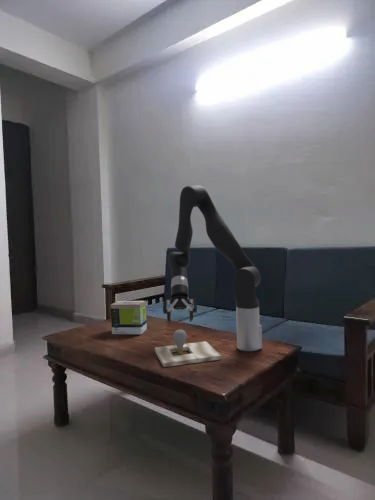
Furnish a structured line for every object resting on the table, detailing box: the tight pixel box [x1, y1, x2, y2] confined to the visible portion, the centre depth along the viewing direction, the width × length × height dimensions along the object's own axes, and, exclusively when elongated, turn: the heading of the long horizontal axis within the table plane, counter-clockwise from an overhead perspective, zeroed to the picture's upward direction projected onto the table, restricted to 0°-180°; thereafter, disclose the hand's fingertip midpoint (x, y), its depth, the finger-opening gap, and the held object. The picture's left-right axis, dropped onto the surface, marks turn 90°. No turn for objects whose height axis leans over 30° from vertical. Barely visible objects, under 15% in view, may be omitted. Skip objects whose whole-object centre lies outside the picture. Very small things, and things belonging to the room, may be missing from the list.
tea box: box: [109, 300, 148, 335], centre depth 175 cm, size 15×10×15 cm, turn 80°
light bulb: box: [172, 329, 188, 355], centre depth 141 cm, size 6×6×10 cm
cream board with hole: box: [154, 341, 222, 368], centre depth 141 cm, size 22×18×2 cm
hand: (180, 321), depth 146 cm, fingers open, 8 cm apart
